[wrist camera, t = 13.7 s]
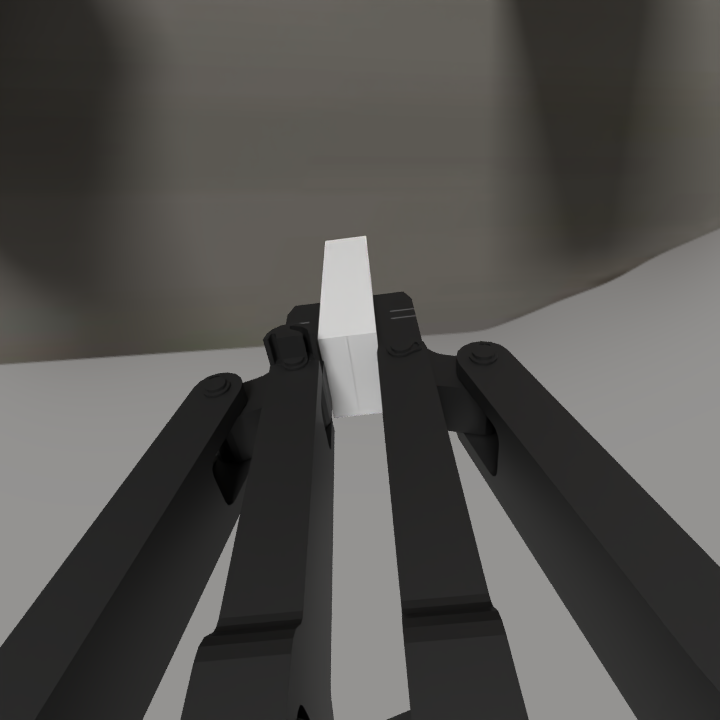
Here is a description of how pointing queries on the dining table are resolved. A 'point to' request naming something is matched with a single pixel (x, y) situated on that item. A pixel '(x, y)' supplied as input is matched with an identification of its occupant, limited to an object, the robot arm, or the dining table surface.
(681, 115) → the dining table surface
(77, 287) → the dining table surface
